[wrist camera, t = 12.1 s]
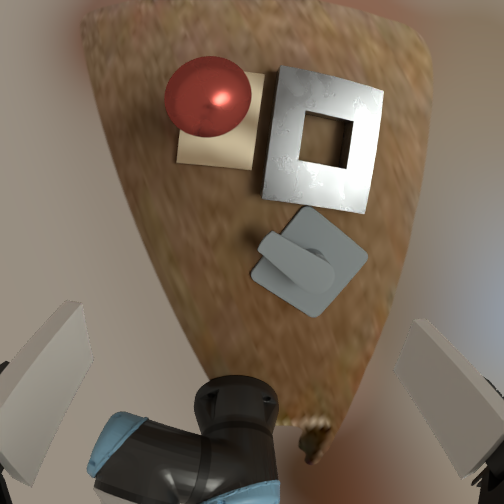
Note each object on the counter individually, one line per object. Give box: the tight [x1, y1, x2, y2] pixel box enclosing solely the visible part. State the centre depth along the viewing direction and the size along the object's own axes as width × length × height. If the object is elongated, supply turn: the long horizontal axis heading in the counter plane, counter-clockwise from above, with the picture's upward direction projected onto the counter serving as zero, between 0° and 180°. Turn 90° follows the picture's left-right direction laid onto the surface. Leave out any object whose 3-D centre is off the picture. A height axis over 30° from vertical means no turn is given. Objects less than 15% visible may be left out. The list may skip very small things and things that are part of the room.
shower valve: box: [251, 206, 368, 317], centre depth 38 cm, size 12×6×15 cm
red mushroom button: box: [164, 56, 252, 138], centre depth 25 cm, size 6×6×15 cm
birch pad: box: [177, 72, 265, 170], centre depth 33 cm, size 12×9×1 cm
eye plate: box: [260, 65, 384, 214], centre depth 33 cm, size 16×13×3 cm
